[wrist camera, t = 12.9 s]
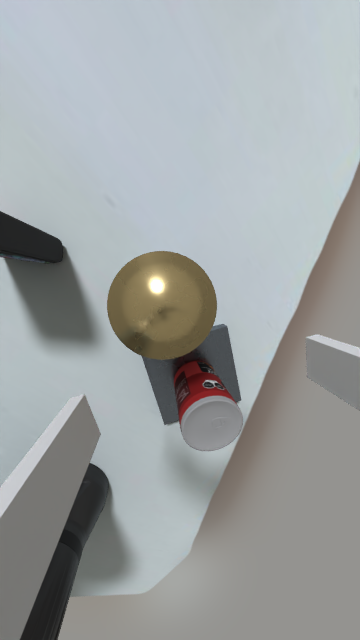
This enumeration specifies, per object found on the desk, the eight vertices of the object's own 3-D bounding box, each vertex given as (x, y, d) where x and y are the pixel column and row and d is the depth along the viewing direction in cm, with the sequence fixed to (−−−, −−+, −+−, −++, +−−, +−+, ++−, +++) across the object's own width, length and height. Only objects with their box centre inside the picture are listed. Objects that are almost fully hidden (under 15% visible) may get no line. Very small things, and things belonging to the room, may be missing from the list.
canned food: (221, 384, 32) (252, 433, 21) (184, 403, 32) (197, 462, 21) (205, 351, 30) (230, 387, 20) (166, 371, 30) (170, 419, 19)
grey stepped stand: (164, 416, 34) (166, 468, 25) (120, 282, 28) (99, 280, 18) (236, 394, 35) (266, 435, 26) (210, 259, 29) (236, 246, 19)
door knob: (140, 337, 24) (127, 372, 14) (119, 274, 22) (89, 266, 12) (199, 320, 25) (225, 343, 15) (184, 258, 23) (204, 239, 13)
